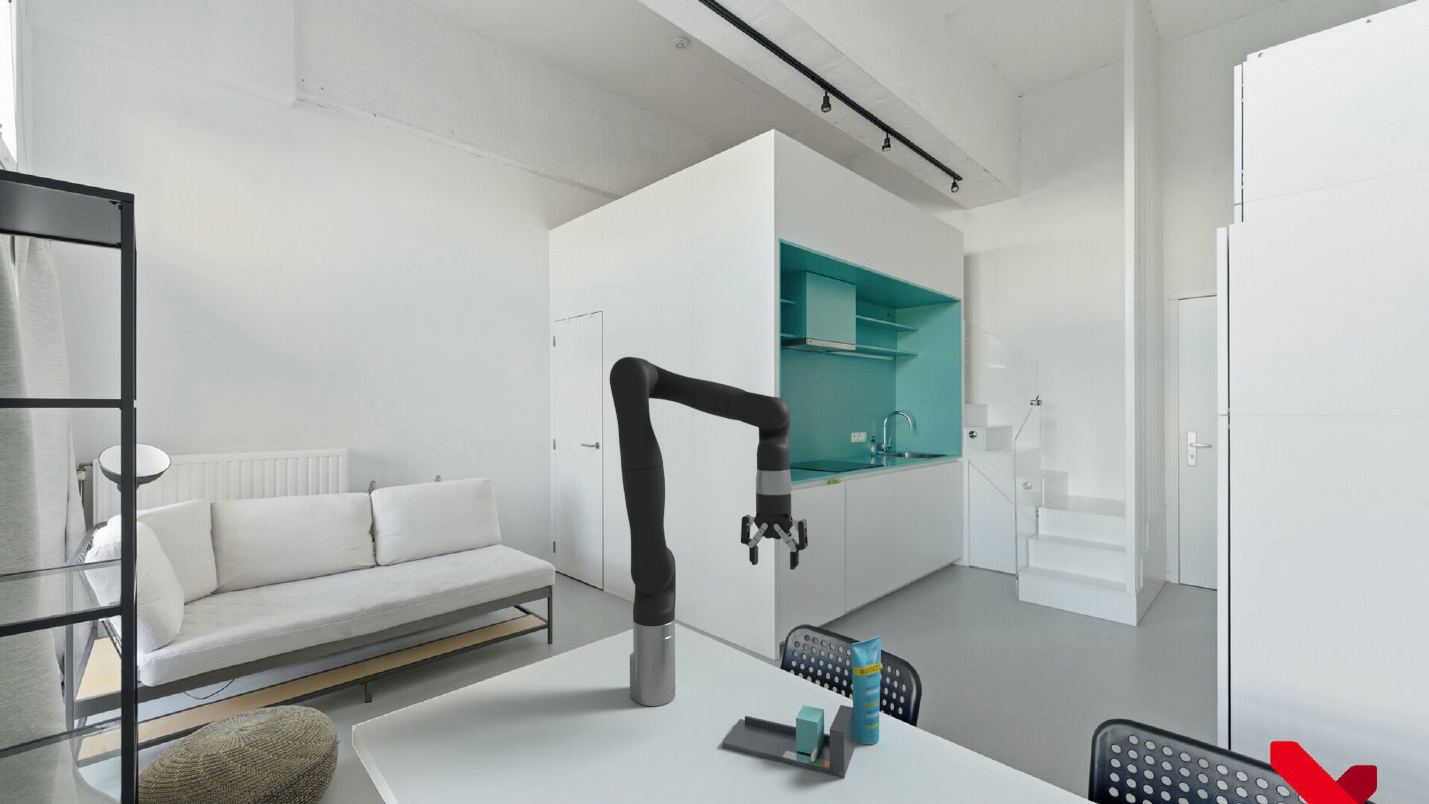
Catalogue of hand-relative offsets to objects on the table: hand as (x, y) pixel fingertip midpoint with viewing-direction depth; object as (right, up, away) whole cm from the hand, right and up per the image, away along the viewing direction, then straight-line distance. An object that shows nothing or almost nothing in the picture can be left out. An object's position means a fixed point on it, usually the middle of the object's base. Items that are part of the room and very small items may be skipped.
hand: (773, 566), depth 127 cm
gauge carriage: (+5, -29, -17) cm, 34 cm away
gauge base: (+1, -30, -15) cm, 34 cm away
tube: (+17, -30, -12) cm, 37 cm away
